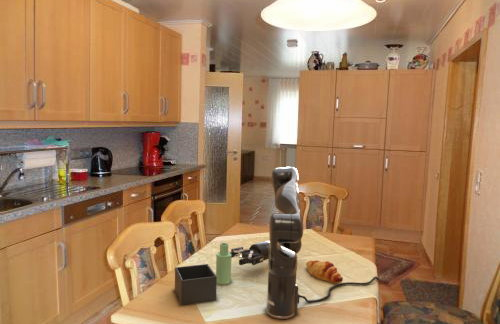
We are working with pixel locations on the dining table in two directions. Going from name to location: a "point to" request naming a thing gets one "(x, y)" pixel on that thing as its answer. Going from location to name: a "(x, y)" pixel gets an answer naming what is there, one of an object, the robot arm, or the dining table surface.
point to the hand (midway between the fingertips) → (232, 259)
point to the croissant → (324, 271)
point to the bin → (195, 284)
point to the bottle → (223, 265)
